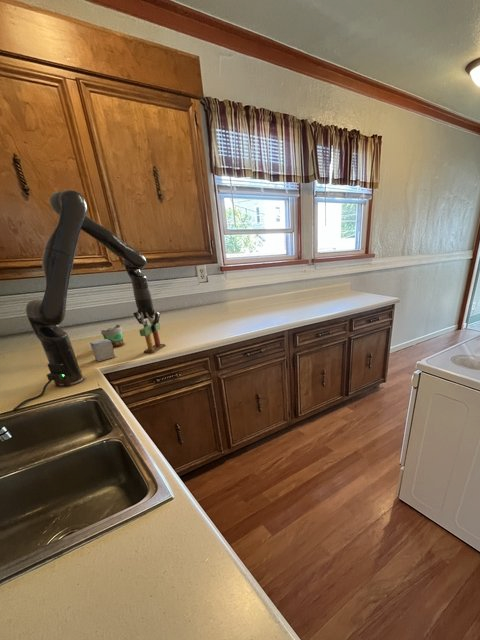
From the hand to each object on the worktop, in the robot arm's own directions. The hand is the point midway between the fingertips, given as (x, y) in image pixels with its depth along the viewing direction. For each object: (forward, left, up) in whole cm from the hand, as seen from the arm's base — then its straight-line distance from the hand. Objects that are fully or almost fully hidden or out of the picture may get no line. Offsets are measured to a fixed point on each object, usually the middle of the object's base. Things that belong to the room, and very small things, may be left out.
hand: (151, 331), depth 167 cm
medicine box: (-16, +17, -10) cm, 25 cm away
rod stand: (0, 0, -9) cm, 9 cm away
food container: (+3, +23, -10) cm, 25 cm away
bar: (0, 0, 0) cm, 0 cm away
